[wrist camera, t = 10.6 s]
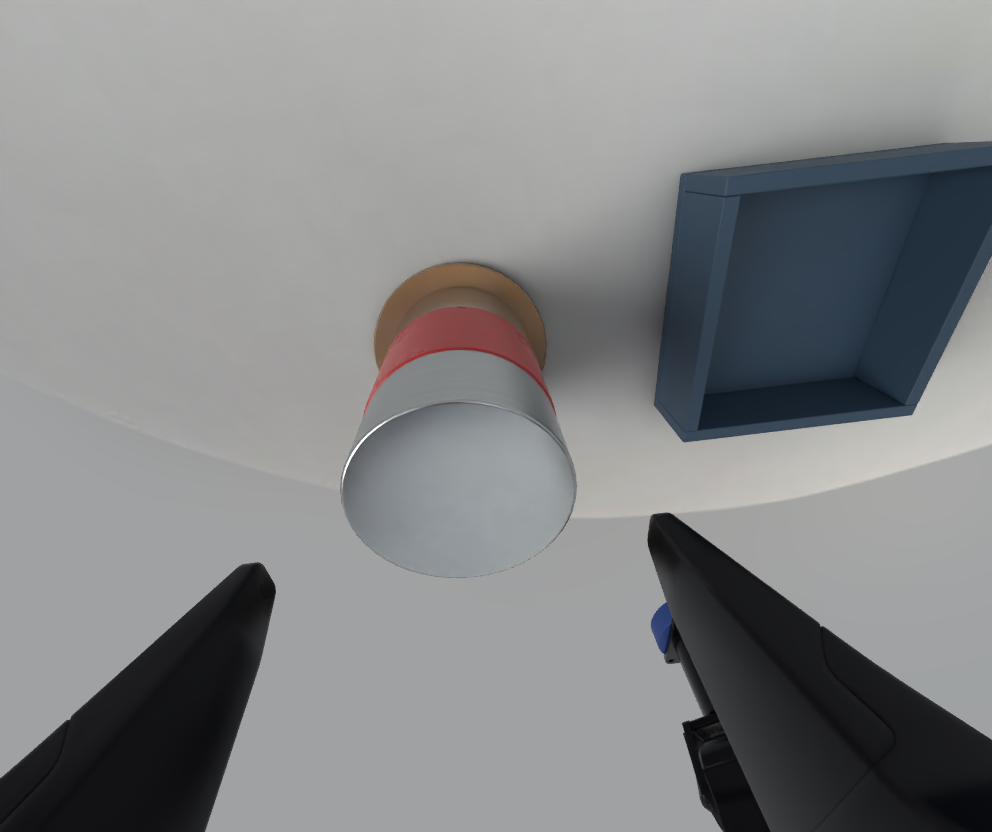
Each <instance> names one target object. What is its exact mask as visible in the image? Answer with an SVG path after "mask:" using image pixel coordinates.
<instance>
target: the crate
mask: <svg viewBox="0 0 992 832" xmlns="http://www.w3.org/2000/svg"><path fill="white" fill-rule="evenodd" d="M991 256H992V141H991V142H963V143H942V144H934V145H925V146H916V147H908V148H899V149H891V150H882V151H873V152H865V153H856V154H847V155H839V156H830V157H821V158H813V159H804V160H796V161H787V162H778V163H770V164H761V165H752V166H744V167H735V168H727V169H718V170H709V171H701V172H692V173H683V174H681V178H680V186H679V195H678V203H677V212H676V221H675V229H674V238H673V246H672V255H671V264H670V272H669V281H668V290H667V298H666V307H665V315H664V324H663V333H662V341H661V350H660V359H659V367H658V376H657V384H656V393H655V402H654V406H655V407H656V408H657V409H658V411H659V412H660V413H661V414H662V416H663V417H664V418H665V420H666V421H667V422H668V423H669V425H670V426H671V427H672V429H673V430H674V431H675V432H676V434H677V435H678V436H679V437H680V439H681V440H682V441H683V442H691V441H699V440H708V439H716V438H724V437H733V436H741V435H749V434H758V433H766V432H774V431H783V430H791V429H799V428H808V427H816V426H824V425H833V424H841V423H850V422H858V421H866V420H875V419H883V418H891V417H900V416H908V415H912V414H913V412H914V410H915V408H916V406H917V404H918V402H919V400H920V398H921V396H922V394H923V392H924V390H925V388H926V386H927V384H928V382H929V380H930V378H931V376H932V374H933V372H934V370H935V368H936V366H937V364H938V362H939V360H940V358H941V356H942V354H943V352H944V350H945V348H946V346H947V344H948V342H949V340H950V338H951V336H952V334H953V332H954V330H955V328H956V326H957V324H958V322H959V320H960V318H961V316H962V314H963V312H964V310H965V308H966V306H967V304H968V302H969V300H970V298H971V296H972V294H973V292H974V290H975V288H976V286H977V284H978V282H979V280H980V278H981V276H982V274H983V272H984V270H985V268H986V266H987V264H988V262H989V260H990V258H991Z"/></svg>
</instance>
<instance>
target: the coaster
mask: <svg viewBox="0 0 992 832" xmlns="http://www.w3.org/2000/svg"><path fill="white" fill-rule="evenodd" d="M452 287H467V288H474V289H479V290H482V291H485V292H488V293H490V294H492V295H494V296H496V297H498V298H499V299H500V300H502V301H503V302H505V303H506V304H507V305H508V306H509V307H510V308H511V309H512V310H513V311H514V313H515V314H516V315H517V316H518V318H519V320H520V321H521V323H522V325H523V328H524V330H525V332H526V335H527V338H528V341H529V343H530V345H531V347H532V349H533V352H534V354H535V356H536V359H537V362H538V364H539V367H540V370H541V372H542V369H543V366H544V362H545V357H546V336H545V330H544V326H543V322H542V320H541V317H540V315H539V312H538V310H537V309H536V307H535V305H534V304H533V302H532V300H531V299H530V298H529V296H528V295H527V294H526V293H525V291H524V290H523V289H522V288H520V287H519V286H518V285H517V284H516V283H515V282H514V281H512V280H511V279H509V278H508V277H507V276H505V275H503V274H501V273H499V272H497V271H495V270H492V269H490V268H487V267H484V266H480V265H475V264H468V263H448V264H443V265H437V266H434V267H431V268H428V269H425V270H423V271H421V272H419V273H417V274H415V275H413V276H412V277H410V278H409V279H407V280H406V281H405V282H403V283H402V284H401V285H400V286H399V287H398V288H397V289H396V290H395V291H394V292H393V294H392V295H391V296H390V297H389V299H388V300H387V302H386V304H385V305H384V307H383V309H382V311H381V313H380V316H379V318H378V321H377V325H376V329H375V336H374V352H375V358H376V363H377V366H378V369H379V371H380V369H381V366H382V364H383V361H384V359H385V356H386V354H387V352H388V349H389V347H390V345H391V344H392V342H393V339H394V337H395V334H396V332H397V329H398V327H399V325H400V322H401V320H402V319H403V317H404V316H405V314H406V313H407V312H408V310H409V309H410V308H411V307H412V306H413V305H414V304H415V303H416V302H418V301H419V300H420V299H422V298H423V297H425V296H427V295H429V294H431V293H433V292H436V291H439V290H442V289H446V288H452Z"/></svg>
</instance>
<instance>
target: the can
mask: <svg viewBox="0 0 992 832" xmlns="http://www.w3.org/2000/svg"><path fill="white" fill-rule="evenodd" d="M340 491H341V500H342V505H343V508H344V512H345V515H346V517H347V519H348V521H349V523H350V525H351V527H352V529H353V530H354V531H355V533H356V534H357V536H358V537H359V538H360V539H361V540H362V541H363V542H364V543H365V544H366V545H367V546H368V547H369V548H370V549H371V550H373V551H374V552H375V553H376V554H378V555H379V556H381V557H382V558H384V559H386V560H387V561H389V562H391V563H393V564H395V565H397V566H399V567H402V568H405V569H407V570H410V571H414V572H417V573H421V574H425V575H430V576H436V577H447V578H466V577H477V576H484V575H489V574H493V573H497V572H501V571H504V570H506V569H509V568H512V567H514V566H517V565H519V564H521V563H523V562H525V561H527V560H529V559H530V558H532V557H534V556H535V555H537V554H538V553H539V552H541V551H542V550H544V549H545V548H546V547H547V546H548V545H549V544H550V543H551V542H553V541H554V540H555V538H556V537H557V536H558V535H559V534H560V532H561V531H562V530H563V528H564V527H565V525H566V523H567V522H568V520H569V517H570V515H571V513H572V511H573V507H574V503H575V499H576V491H577V481H576V473H575V469H574V465H573V462H572V459H571V456H570V454H569V451H568V448H567V445H566V443H565V440H564V437H563V434H562V432H561V429H560V426H559V423H558V421H557V417H556V412H555V409H554V405H553V402H552V399H551V397H550V394H549V391H548V389H547V386H546V383H545V381H544V378H543V375H542V372H541V370H540V367H539V364H538V362H537V359H536V356H535V354H534V352H533V349H532V347H531V345H530V343H529V341H528V338H527V335H526V332H525V330H524V328H523V325H522V323H521V321H520V320H519V318H518V316H517V315H516V314H515V313H514V311H513V310H512V309H511V308H510V307H509V306H508V305H507V304H506V303H505V302H503V301H502V300H500V299H499V298H498V297H496V296H494V295H492V294H490V293H488V292H485V291H482V290H479V289H474V288H467V287H452V288H446V289H442V290H439V291H436V292H433V293H431V294H429V295H427V296H425V297H423V298H422V299H420V300H419V301H418V302H416V303H415V304H414V305H413V306H412V307H411V308H410V309H409V310H408V312H407V313H406V314H405V316H404V317H403V319H402V320H401V322H400V325H399V327H398V329H397V332H396V334H395V337H394V339H393V342H392V344H391V345H390V347H389V349H388V352H387V354H386V356H385V359H384V361H383V364H382V366H381V369H380V371H379V374H378V376H377V379H376V382H375V384H374V387H373V389H372V392H371V394H370V397H369V399H368V402H367V404H366V407H365V411H364V415H363V419H362V422H361V424H360V427H359V429H358V432H357V435H356V437H355V440H354V442H353V445H352V447H351V450H350V453H349V455H348V458H347V460H346V463H345V466H344V469H343V473H342V477H341V490H340Z"/></svg>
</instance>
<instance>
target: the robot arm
mask: <svg viewBox="0 0 992 832" xmlns="http://www.w3.org/2000/svg"><path fill="white" fill-rule="evenodd" d="M648 547H649V551H650V554H651V557H652V560H653V562H654V565H655V568H656V572H657V574H658V578H659V580H660V584H661V586H662V589H663V592H664V595H665V598H666V601H667V604H668V607H669V610H670V613H671V615H672V617H673V619H672V620H671V625H670V630H669V635H668V640H667V645H666V649H665V654H664V659H665V661H666V663H668V664H673V663H681V665H682V668H683V670H684V672H685V674H686V677H687V679H688V681H689V684H690V686H691V688H692V691H693V693H694V695H695V698H696V700H697V702H698V704H699V707H700V709H701V711H702V714H703V716H704V717H701V718H699V719H696V720H693V721H686V722H683V723H682V725H683V728H684V733H683V735H684V738H685V741H686V744H687V747H688V751H689V754H690V757H691V760H692V764H693V768H694V771H695V774H696V779H697V785H698V790H699V795H700V800H701V802H702V805H703V806H704V808H706V809H707V810H708V811H710V812H711V813H712V814H713V816H714V818H715V819H716V821H717V823H718V825H719V826H720V828H721V829H722V831H723V832H992V740H991V739H990V738H988V737H986V736H985V735H984V734H982V733H980V732H979V731H977V730H976V729H974V728H973V727H971V726H969V725H968V724H967V723H965V722H963V721H962V720H960V719H959V718H957V717H956V716H954V715H953V714H951V713H950V712H948V711H946V710H945V709H943V708H942V707H940V706H939V705H937V704H935V703H934V702H933V701H931V700H929V699H928V698H926V697H925V696H923V695H921V694H920V693H918V692H917V691H916V690H914V689H912V688H911V687H909V686H908V685H906V684H905V683H903V682H902V681H900V680H899V679H897V678H896V677H894V676H893V675H891V674H890V673H888V672H887V671H885V670H884V669H882V668H881V667H879V666H878V665H876V664H875V663H874V662H872V661H871V660H869V659H868V658H867V657H865V656H863V655H862V654H861V653H860V652H858V651H857V650H855V649H854V648H853V647H851V646H850V645H848V644H847V643H846V642H844V641H843V640H842V639H840V638H839V637H837V636H836V635H835V634H833V633H832V632H831V631H829V630H828V629H827V628H825V627H823V626H822V627H820V624H819V623H818V622H817V621H816V620H814V619H813V618H811V617H810V616H809V615H807V614H806V613H805V612H803V611H802V610H801V609H799V608H798V607H797V606H795V605H794V604H793V603H791V602H790V601H789V600H787V599H786V598H785V597H783V596H782V595H781V594H779V593H778V592H777V591H775V590H774V589H772V588H771V587H770V586H768V585H767V584H766V583H764V582H763V581H762V580H760V579H759V578H757V577H756V576H755V575H754V574H752V573H751V572H750V571H748V570H747V569H745V568H744V567H743V566H741V565H740V564H739V563H737V562H736V561H735V560H733V559H732V558H731V557H729V556H728V555H727V554H725V553H724V552H723V551H721V550H720V549H718V548H717V547H716V546H714V545H713V544H712V543H710V542H709V541H708V540H706V539H705V538H704V537H702V536H701V535H700V534H698V533H697V532H696V531H694V530H693V529H692V528H690V527H689V526H688V525H686V524H685V523H683V522H682V521H681V520H679V519H678V518H677V517H675V516H674V515H673V514H671V513H658V514H653V515H652V516H651V518H650V524H649V531H648ZM275 594H276V589H275V584H274V582H273V581H272V579H271V577H270V575H269V574H268V572H267V571H266V569H265V567H264V566H263V564H261V563H258V562H257V563H250V564H243V565H241V566H239V567H238V568H237V569H235V570H234V571H233V572H232V573H231V574H230V575H229V576H228V577H226V578H225V579H224V580H223V581H222V582H221V583H220V584H219V585H218V586H216V588H214V589H213V590H212V591H211V592H210V593H209V594H208V595H206V596H205V597H204V598H203V599H202V600H201V601H200V602H199V603H197V604H196V605H195V606H194V607H193V608H192V609H191V610H190V611H188V612H187V613H186V614H185V615H184V616H183V617H182V618H181V619H179V620H178V621H177V622H176V623H175V624H174V625H173V626H172V627H171V628H170V629H168V630H167V631H166V632H165V633H164V634H163V635H162V636H160V637H159V638H158V639H157V640H156V641H155V642H154V643H153V644H152V645H151V646H149V647H148V648H147V649H146V650H145V651H144V652H143V653H141V654H140V655H139V656H138V657H137V658H136V659H135V660H134V661H133V662H132V663H130V664H129V665H128V666H127V667H126V668H125V669H124V670H123V671H121V672H120V673H119V674H118V675H117V676H116V677H115V678H114V679H112V680H111V681H110V682H109V683H108V684H107V685H106V686H105V687H103V688H102V689H101V690H100V691H99V692H98V693H97V694H96V695H94V696H93V697H92V698H91V699H90V700H89V701H88V702H87V703H86V704H85V705H83V706H82V707H81V708H80V709H79V710H78V711H77V712H75V713H74V714H73V715H72V716H71V719H70V720H67V721H66V722H64V723H63V724H62V725H61V726H60V727H59V728H57V729H56V730H55V731H54V732H53V733H52V734H51V735H50V736H48V737H47V738H46V739H45V740H44V741H43V742H42V743H41V744H39V746H37V747H36V748H35V749H34V750H33V751H32V752H30V753H29V754H28V755H27V756H26V757H25V758H24V759H22V760H21V761H20V762H19V763H18V764H17V765H15V766H14V767H13V768H12V769H11V770H10V771H9V772H7V773H6V774H5V775H4V776H3V777H1V778H0V832H205V830H206V827H207V824H208V821H209V817H210V815H211V812H212V809H213V806H214V803H215V800H216V797H217V794H218V790H219V787H220V784H221V781H222V778H223V775H224V772H225V769H226V766H227V763H228V760H229V757H230V754H231V751H232V748H233V744H234V742H235V738H236V736H237V732H238V729H239V726H240V723H241V720H242V717H243V714H244V711H245V708H246V705H247V702H248V699H249V695H250V693H251V690H252V687H253V684H254V681H255V677H256V674H257V671H258V668H259V665H260V661H261V657H262V653H263V648H264V644H265V640H266V635H267V631H268V626H269V621H270V617H271V613H272V608H273V604H274V599H275Z"/></svg>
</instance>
